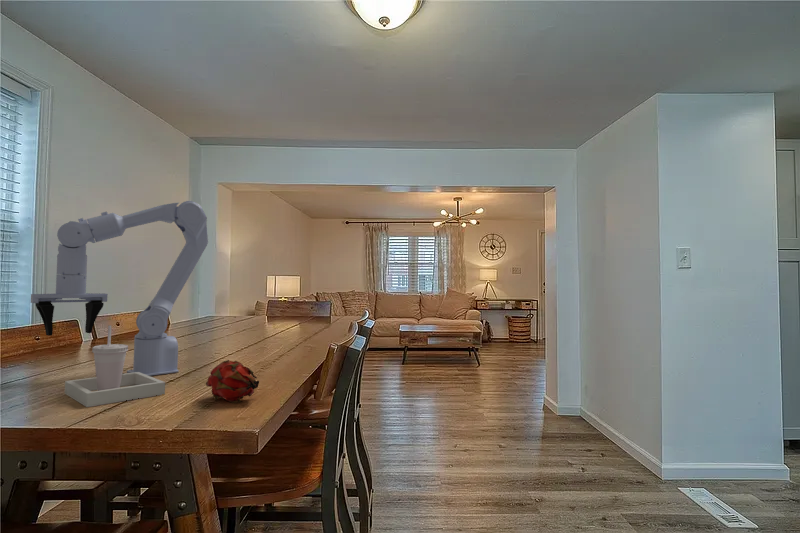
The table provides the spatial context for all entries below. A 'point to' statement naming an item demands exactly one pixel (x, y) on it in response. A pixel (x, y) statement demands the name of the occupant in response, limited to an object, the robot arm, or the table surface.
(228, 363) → the dragon fruit
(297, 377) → the table surface
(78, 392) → the white shallow square frame
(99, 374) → the smoothie
